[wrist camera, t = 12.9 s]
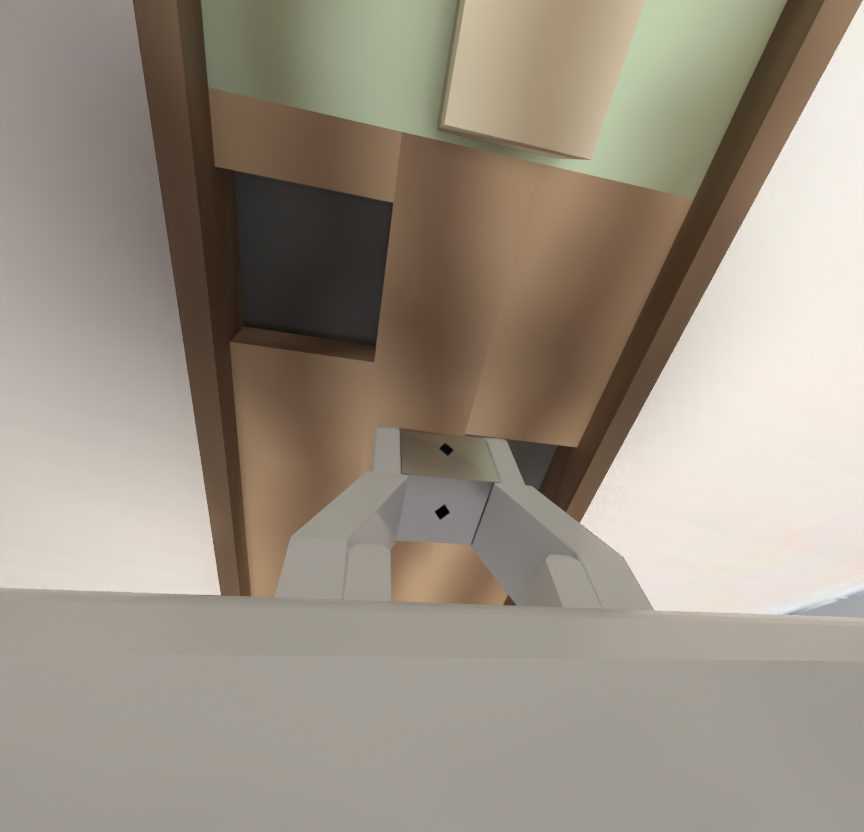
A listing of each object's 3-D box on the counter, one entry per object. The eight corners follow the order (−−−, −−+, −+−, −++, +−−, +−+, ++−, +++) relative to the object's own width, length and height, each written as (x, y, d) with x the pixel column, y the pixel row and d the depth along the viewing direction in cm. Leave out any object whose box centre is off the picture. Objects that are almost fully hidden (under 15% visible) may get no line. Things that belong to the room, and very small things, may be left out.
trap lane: (248, 613, 29) (231, 664, 26) (166, -280, 10) (63, -469, 7) (489, 625, 32) (498, 673, 29) (804, -57, 12) (929, -123, 9)
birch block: (436, 130, 13) (444, 124, 10) (466, -54, 11) (485, -118, 8) (555, 158, 13) (591, 159, 11) (606, -10, 11) (665, -58, 9)
